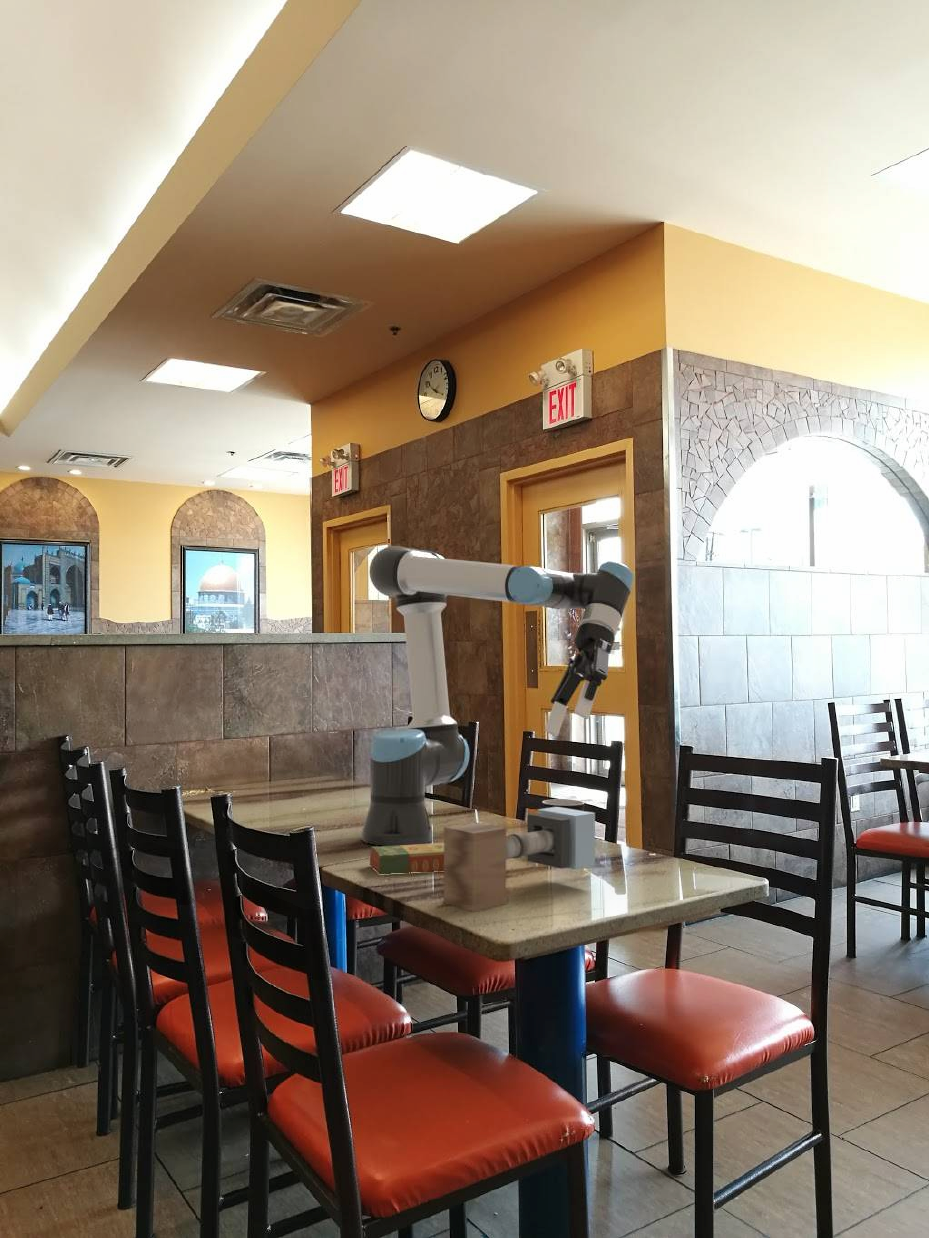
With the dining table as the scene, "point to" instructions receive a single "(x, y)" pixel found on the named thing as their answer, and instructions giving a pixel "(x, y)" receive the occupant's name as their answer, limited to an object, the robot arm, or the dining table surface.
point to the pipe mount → (484, 862)
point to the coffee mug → (564, 804)
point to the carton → (408, 858)
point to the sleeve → (577, 835)
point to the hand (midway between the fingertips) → (565, 725)
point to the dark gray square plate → (560, 839)
